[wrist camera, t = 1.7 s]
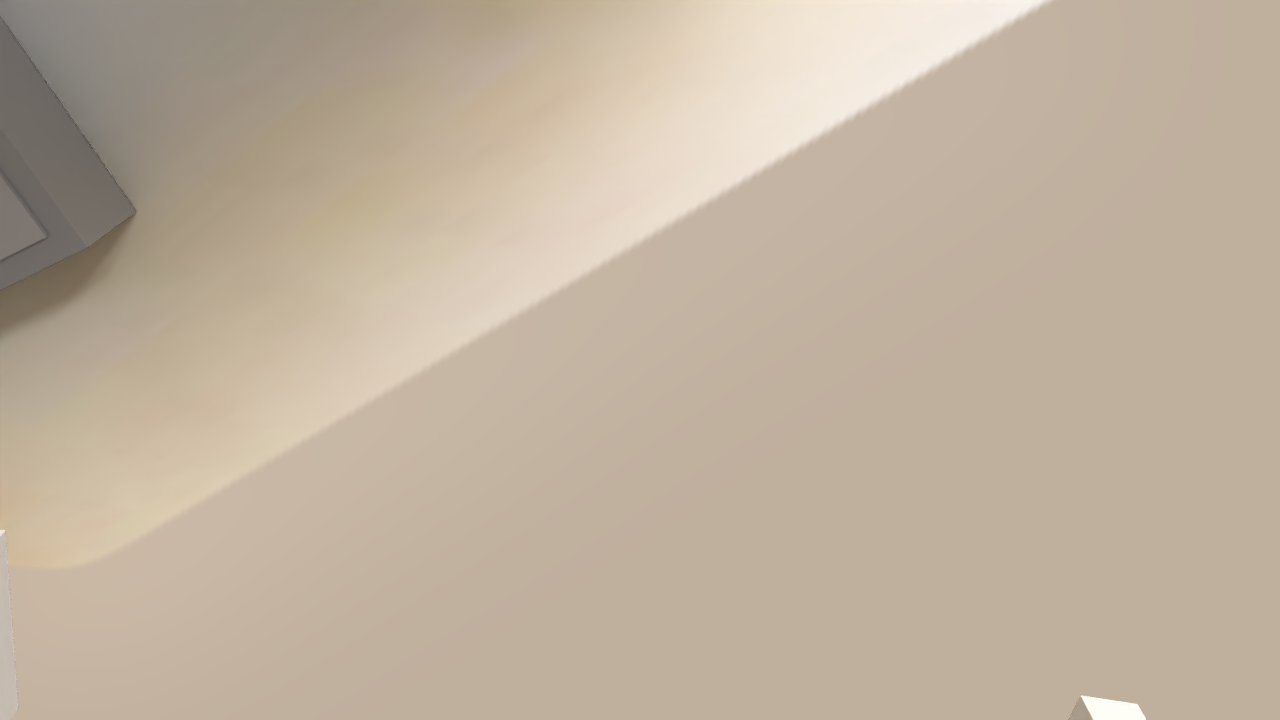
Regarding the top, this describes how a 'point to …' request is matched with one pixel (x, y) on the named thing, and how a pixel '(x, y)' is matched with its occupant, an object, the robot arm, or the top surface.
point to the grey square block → (46, 174)
